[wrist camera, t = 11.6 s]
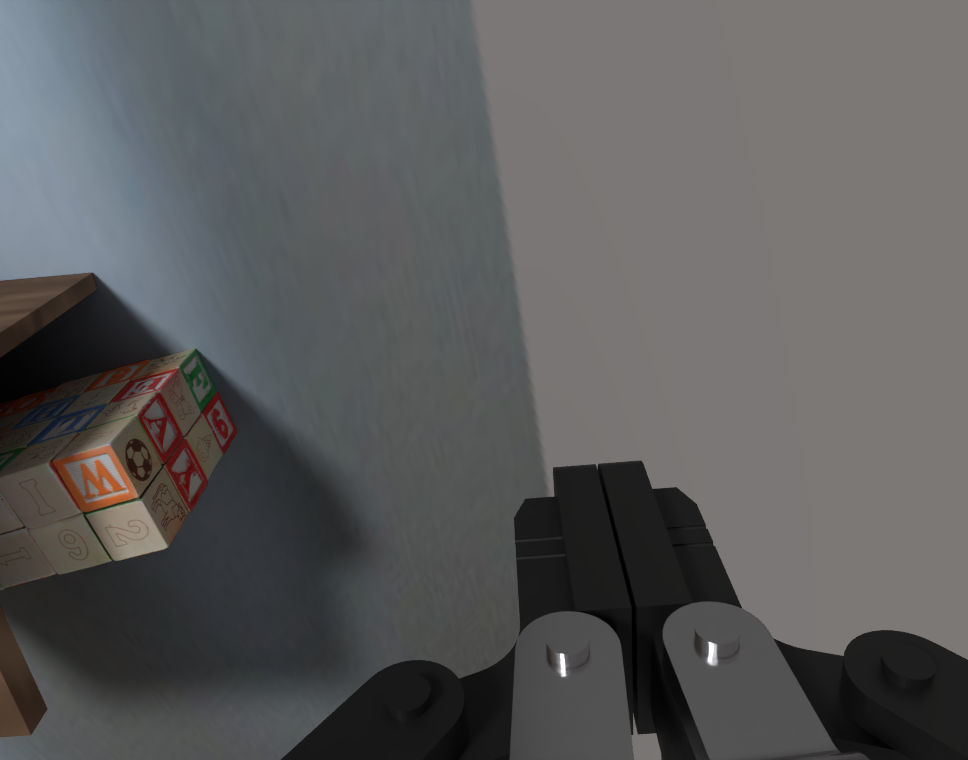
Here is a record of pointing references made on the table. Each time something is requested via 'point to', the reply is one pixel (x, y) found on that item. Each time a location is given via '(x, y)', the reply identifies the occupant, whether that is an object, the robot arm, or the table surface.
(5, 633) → the overhang shelf
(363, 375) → the table surface
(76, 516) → the stack of blocks
